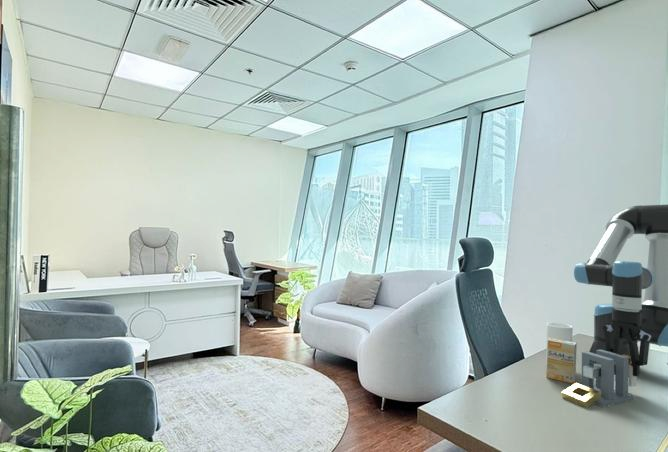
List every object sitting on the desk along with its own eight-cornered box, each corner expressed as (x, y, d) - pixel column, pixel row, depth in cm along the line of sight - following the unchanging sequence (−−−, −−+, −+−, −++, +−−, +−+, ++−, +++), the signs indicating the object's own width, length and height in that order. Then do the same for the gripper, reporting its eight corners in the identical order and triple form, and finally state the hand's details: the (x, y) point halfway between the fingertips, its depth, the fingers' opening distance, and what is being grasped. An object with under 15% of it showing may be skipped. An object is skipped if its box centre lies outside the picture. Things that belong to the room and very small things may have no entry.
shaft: (623, 373, 122) (623, 354, 122) (634, 376, 119) (635, 357, 119) (582, 380, 114) (582, 360, 114) (593, 384, 111) (593, 364, 111)
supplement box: (545, 378, 129) (546, 339, 130) (548, 374, 133) (549, 337, 133) (574, 384, 124) (574, 344, 124) (576, 380, 128) (576, 342, 128)
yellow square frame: (576, 382, 116) (561, 391, 113) (600, 391, 109) (585, 401, 107) (577, 388, 116) (562, 398, 113) (601, 397, 110) (586, 408, 107)
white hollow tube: (575, 373, 135) (576, 328, 135) (550, 371, 136) (551, 326, 137) (566, 365, 143) (567, 323, 143) (542, 363, 144) (543, 321, 145)
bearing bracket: (599, 387, 122) (600, 348, 123) (634, 399, 113) (634, 357, 114) (568, 393, 117) (569, 352, 117) (602, 407, 107) (603, 362, 108)
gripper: (592, 305, 126) (591, 375, 126) (649, 315, 111) (648, 395, 111) (606, 304, 129) (605, 373, 129) (663, 314, 114) (662, 391, 114)
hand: (625, 383), depth 120 cm, fingers closed on shaft, 3 cm apart
